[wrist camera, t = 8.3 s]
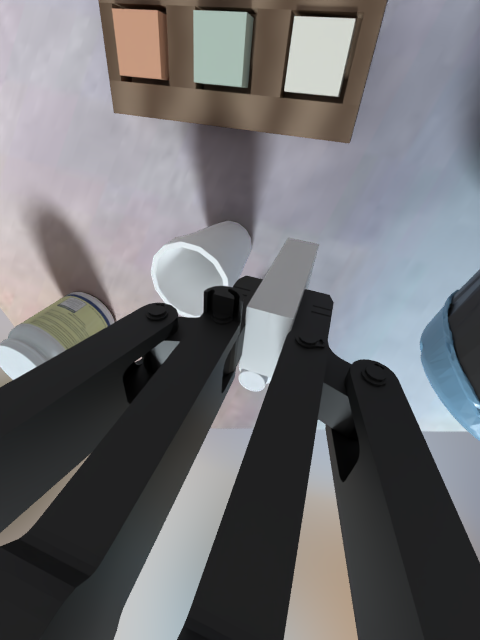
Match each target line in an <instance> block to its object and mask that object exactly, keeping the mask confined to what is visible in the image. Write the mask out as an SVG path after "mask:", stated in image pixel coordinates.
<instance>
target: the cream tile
mask: <svg viewBox="0 0 480 640" xmlns="http://www.w3.org/2000/svg"><path fill="white" fill-rule="evenodd" d="M355 27H356V19H354V18H330V17H305V16H294V23H293V30H292V37H291V45H290V52H289V59H288V66H287V74H286V81H285V88H284V91H286V92H292V93H302V94H312V95H322V96H332V97H340V93H341V88H342V84H343V80H344V75H345V71H346V67H347V62H348V58H349V53H350V49H351V45H352V40H353V36H354V32H355Z"/></svg>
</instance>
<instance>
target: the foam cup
mask: <svg viewBox="0 0 480 640" xmlns="http://www.w3.org/2000/svg"><path fill="white" fill-rule="evenodd" d="M251 250H252V243H251V238H250V236H249V234H248V232H247V230H246V229H245V228H244V227H243V226H241V225H240V224H239V223H236V222H232V221H225V222H221V223H217V224H215V225H212V226H210V227H207V228H204V229H202V230H199V231H197V232H194V233H191V234H189V235H185V236H181V237H176V238H174V239H173V240H171V241H170V242H168V243H167V244H165V245H164V246H163V247H162V248H161V249H160V250H159V251H158V252H157V253H156V254H155V255H154V257H153V262H152V268H151V275H152V279H153V283H154V287H155V290H156V291H157V292H158V294H159V295H160V297H161V298H162V300H163V301H164V303H166V304H169V305H172V306H173V307H174V308H176V310H177V312H178V314H179V315H182V316H185V317H200V316H201V315H202V314H203V305H204V291H205V290H206V289H208V288H210V287H214V286H228V287H233V285H234V284H235V283H236V281H237V280H238V279H239V277H240V275H241V273H242V270H243V268H244V266H245V264H246V261H247V259H248V257H249V255H250V252H251Z"/></svg>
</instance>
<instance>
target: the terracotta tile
mask: <svg viewBox="0 0 480 640" xmlns="http://www.w3.org/2000/svg"><path fill="white" fill-rule="evenodd" d="M112 14H113V22H114V30H115V39H116V47H117V55H118V63H119V72H120V75H122V76H129V77H138V78H148V79H159V80H169V60H168V37H167V15H166V14H164V13H162V12H160V11H158V10H137V9H113V8H112Z"/></svg>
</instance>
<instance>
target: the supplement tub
mask: <svg viewBox="0 0 480 640" xmlns="http://www.w3.org/2000/svg"><path fill="white" fill-rule="evenodd" d="M113 323H115V321H114V319H113V316H112V315H111V313H110V311H109V310H108V309H107V308H106V306H105V305H104V304H103V303H102V302H100V301H99V300H98V299H97V298H95V297H93V296H91V295H89V294H86V293H83V292H73V293H70V294H67V295H66V296H64V297H63V298H61V299H60V300H58V301H56V302H55V303H53V304H52V305H50V306H48V307H47V308H45V309H44V310H42V311H40V312H39V313H37V314H36V315H34V316H32V317H31V318H29V319H27V320H26V321H24V322H23V323H21V324H19V325H17V326H16V327H15V328H14V329H12V331H11V332H10V333H9V336H8V339H6V340H4V341H2V343H1V344H0V367H1V368H2V369H3V370H4V372H5V373H6V374H7V375H8V376H9V377H11V378H12V379H13V380H14V379H16V378H18V377H20V376H21V375H23V374H25V373H27V372H28V371H30V370H32V369H34V368H35V367H37V366H39V365H41V364H42V363H44V362H46V361H48V360H50V359H51V358H53V357H55V356H57V355H58V354H60V353H62V352H64V351H65V350H67V349H69V348H71V347H72V346H74V345H76V344H78V343H80V342H81V341H83V340H85V339H87V338H88V337H90V336H92V335H94V334H95V333H97V332H99V331H101V330H102V329H104V328H106V327H108V326H110V325H111V324H113Z"/></svg>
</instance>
